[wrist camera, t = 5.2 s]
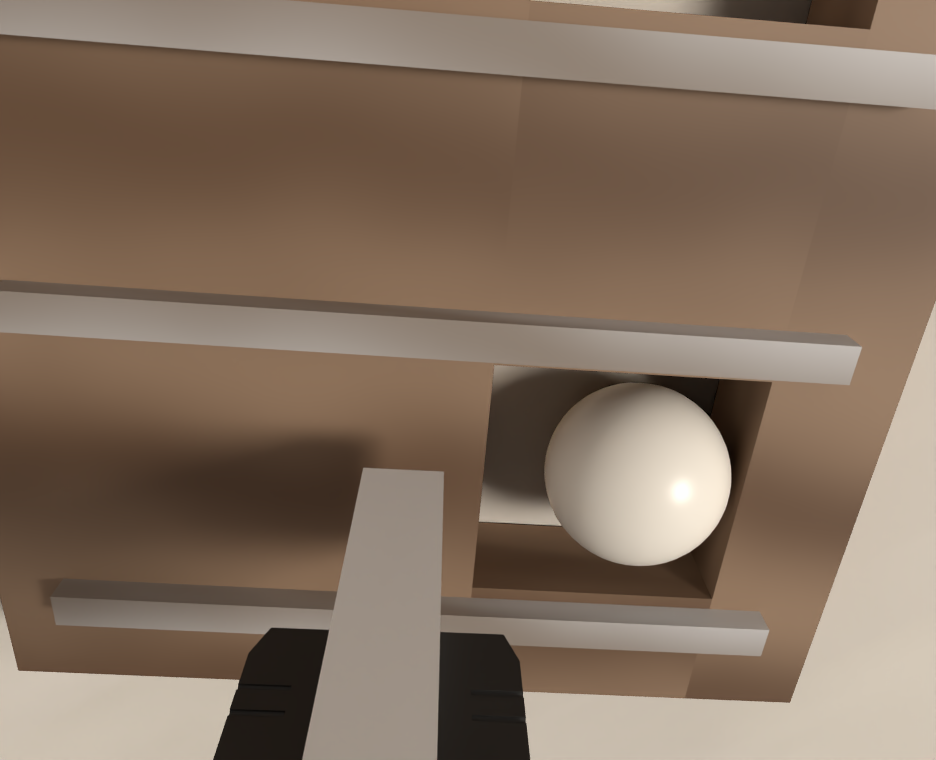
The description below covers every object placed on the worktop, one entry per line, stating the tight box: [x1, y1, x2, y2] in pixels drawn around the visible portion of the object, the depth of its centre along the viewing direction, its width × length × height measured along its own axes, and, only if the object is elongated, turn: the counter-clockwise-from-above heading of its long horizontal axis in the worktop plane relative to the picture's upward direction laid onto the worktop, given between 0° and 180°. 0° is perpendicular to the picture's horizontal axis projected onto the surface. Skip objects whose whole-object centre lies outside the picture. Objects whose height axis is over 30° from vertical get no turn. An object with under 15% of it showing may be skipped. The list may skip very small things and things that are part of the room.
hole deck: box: [0, 0, 936, 703], centre depth 14 cm, size 24×19×3 cm
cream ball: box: [544, 383, 731, 566], centre depth 16 cm, size 4×4×4 cm
